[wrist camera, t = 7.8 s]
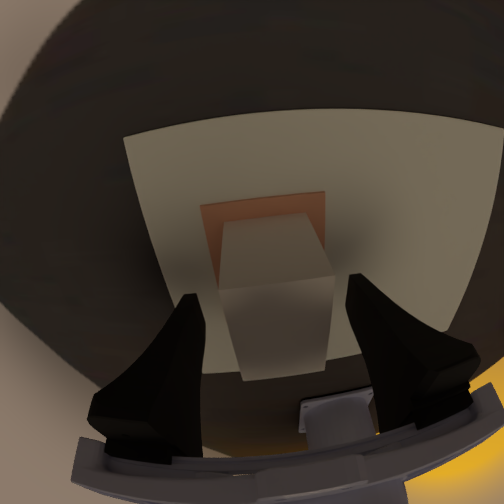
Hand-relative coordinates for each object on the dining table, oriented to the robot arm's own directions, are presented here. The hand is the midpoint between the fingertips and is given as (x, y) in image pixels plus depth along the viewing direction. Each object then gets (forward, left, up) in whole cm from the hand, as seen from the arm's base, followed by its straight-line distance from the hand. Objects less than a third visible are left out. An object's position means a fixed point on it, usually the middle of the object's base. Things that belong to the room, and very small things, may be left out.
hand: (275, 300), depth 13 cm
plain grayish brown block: (0, 0, -3) cm, 3 cm away
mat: (-1, -5, -3) cm, 6 cm away
